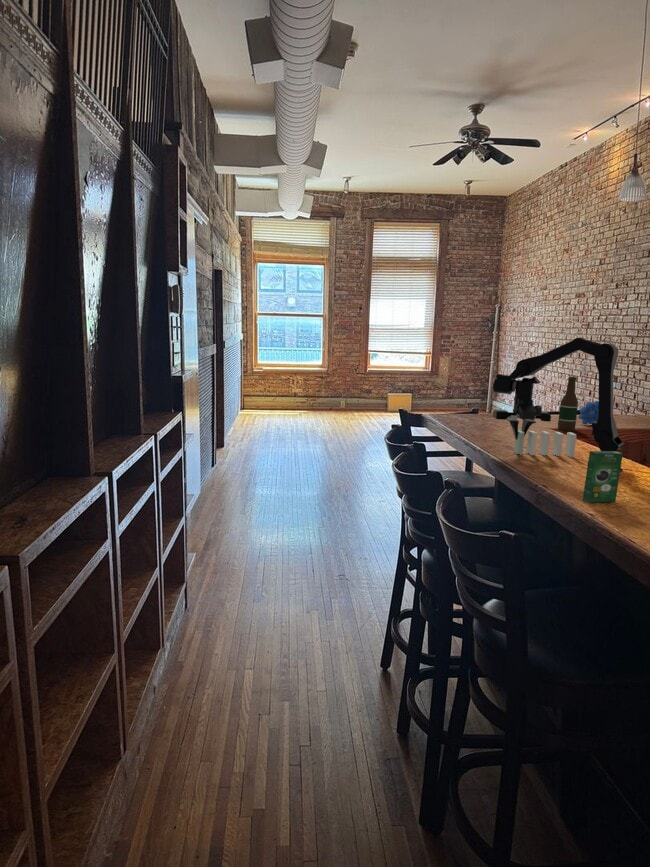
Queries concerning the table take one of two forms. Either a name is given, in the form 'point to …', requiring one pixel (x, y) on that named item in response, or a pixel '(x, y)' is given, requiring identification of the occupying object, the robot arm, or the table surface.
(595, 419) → the grapes
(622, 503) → the table surface
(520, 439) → the domino
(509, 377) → the robot arm
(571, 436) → the domino
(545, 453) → the domino
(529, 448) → the domino
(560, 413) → the beer bottle
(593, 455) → the coffee box
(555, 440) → the domino
